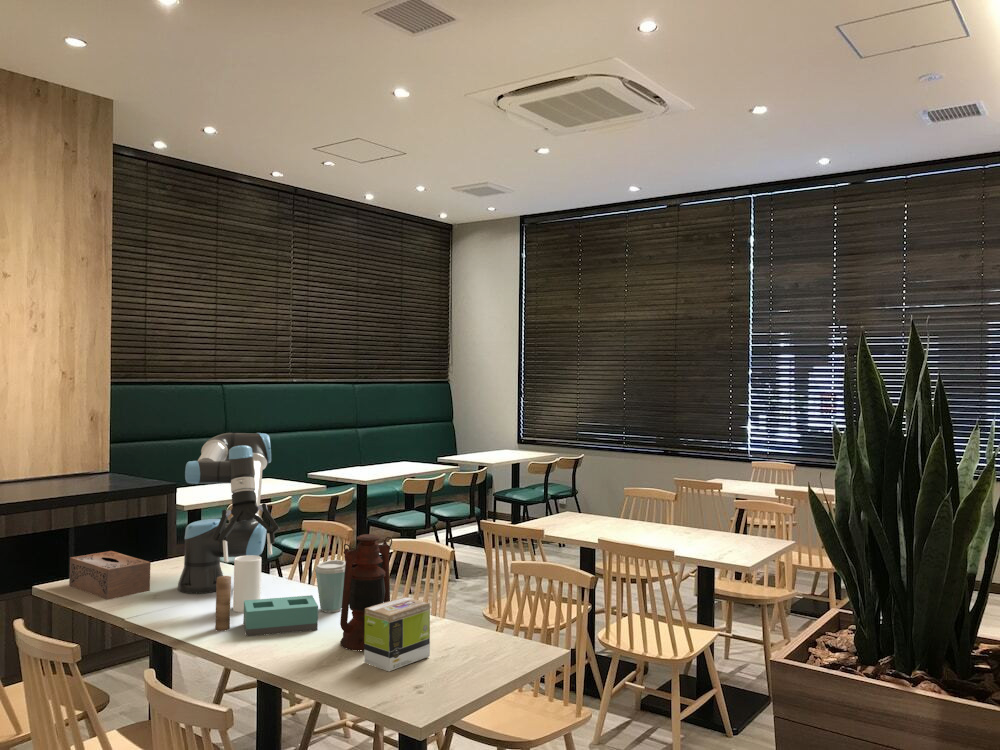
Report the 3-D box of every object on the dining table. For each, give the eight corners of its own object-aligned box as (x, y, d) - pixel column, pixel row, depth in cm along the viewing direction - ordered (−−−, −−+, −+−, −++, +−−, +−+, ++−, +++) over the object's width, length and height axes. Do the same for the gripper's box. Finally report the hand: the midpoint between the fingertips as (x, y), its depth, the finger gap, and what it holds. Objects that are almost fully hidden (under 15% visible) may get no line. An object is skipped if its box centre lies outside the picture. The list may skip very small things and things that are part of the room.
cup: (264, 605, 253) (265, 555, 253) (253, 612, 245) (255, 561, 245) (239, 604, 254) (241, 554, 254) (228, 611, 246) (229, 560, 246)
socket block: (243, 623, 234) (243, 600, 234) (311, 618, 241) (312, 595, 241) (246, 636, 223) (246, 611, 223) (317, 630, 230) (318, 606, 230)
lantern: (355, 656, 209) (358, 544, 209) (325, 643, 219) (327, 536, 219) (405, 641, 222) (408, 535, 222) (374, 630, 231) (377, 528, 232)
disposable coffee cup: (328, 616, 243) (330, 568, 243) (306, 610, 249) (307, 562, 249) (354, 609, 251) (355, 562, 251) (332, 603, 258) (333, 557, 258)
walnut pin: (214, 627, 230) (216, 576, 230) (229, 626, 231) (230, 575, 232) (215, 631, 226) (216, 579, 226) (230, 630, 228) (231, 578, 228)
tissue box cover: (69, 586, 270) (70, 557, 270) (110, 578, 282) (111, 550, 282) (107, 600, 255) (108, 569, 255) (149, 591, 267) (150, 562, 267)
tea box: (404, 648, 216) (405, 595, 216) (430, 657, 210) (431, 602, 210) (362, 663, 205) (364, 606, 205) (388, 673, 198) (390, 614, 198)
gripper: (200, 496, 249) (204, 563, 242) (280, 483, 253) (286, 549, 246) (206, 501, 256) (210, 566, 249) (284, 489, 260) (290, 552, 253)
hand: (248, 558), depth 247 cm, fingers open, 13 cm apart
